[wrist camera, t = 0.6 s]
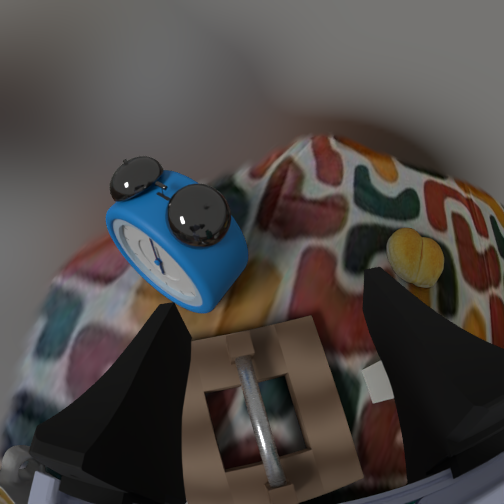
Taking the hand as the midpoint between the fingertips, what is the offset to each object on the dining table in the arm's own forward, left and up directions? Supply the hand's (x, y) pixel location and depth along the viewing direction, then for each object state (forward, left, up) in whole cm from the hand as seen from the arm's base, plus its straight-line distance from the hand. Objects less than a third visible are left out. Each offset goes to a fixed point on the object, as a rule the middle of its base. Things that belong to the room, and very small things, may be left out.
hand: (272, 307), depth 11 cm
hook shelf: (-4, 0, -19) cm, 20 cm away
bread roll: (+9, -26, -20) cm, 34 cm away
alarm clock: (+13, +4, -20) cm, 24 cm away
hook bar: (-4, 0, -16) cm, 17 cm away
